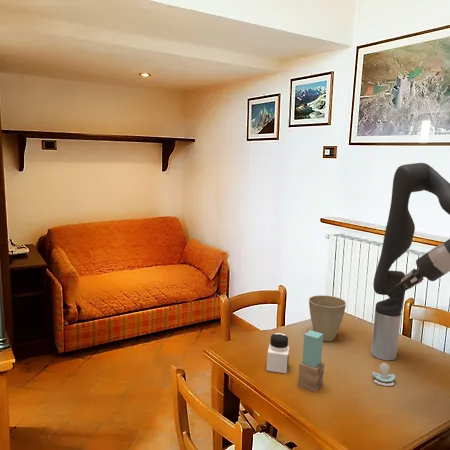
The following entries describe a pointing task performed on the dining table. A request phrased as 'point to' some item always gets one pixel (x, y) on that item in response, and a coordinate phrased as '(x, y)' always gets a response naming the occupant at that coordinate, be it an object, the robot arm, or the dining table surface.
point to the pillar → (312, 348)
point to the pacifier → (384, 376)
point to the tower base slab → (310, 383)
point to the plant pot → (326, 315)
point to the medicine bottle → (278, 353)
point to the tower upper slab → (311, 371)
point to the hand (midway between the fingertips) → (391, 292)
